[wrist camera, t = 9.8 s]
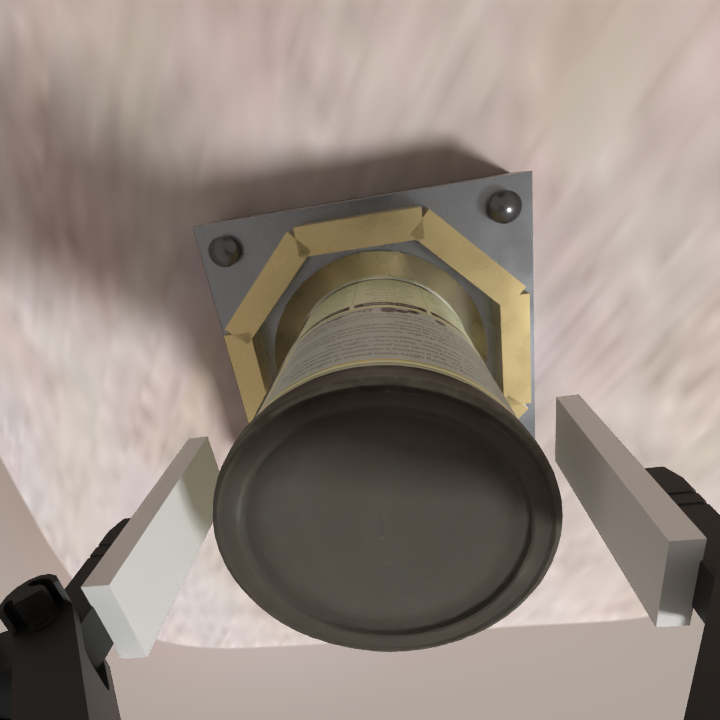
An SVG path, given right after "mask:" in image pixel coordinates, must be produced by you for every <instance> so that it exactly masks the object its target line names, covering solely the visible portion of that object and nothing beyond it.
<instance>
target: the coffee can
mask: <svg viewBox="0 0 720 720" xmlns="http://www.w3.org/2000/svg"><path fill="white" fill-rule="evenodd" d="M562 516H563V515H562V500H561V495H560V491H559V487H558V484H557V481H556V478H555V475H554V472H553V470H552V468H551V466H550V464H549V462H548V460H547V458H546V456H545V454H544V453H543V451H542V449H541V448H540V446H539V445H538V443H537V442H536V440H535V439H534V438H533V436H532V435H531V434H530V433H529V431H528V430H527V429H526V428H525V426H524V425H523V424H522V423H521V422H520V421H519V420H518V418H517V417H516V415H515V413H514V412H513V410H512V408H511V407H510V405H509V403H508V402H507V400H506V398H505V397H504V395H503V393H502V391H501V390H500V388H499V387H498V385H497V383H496V382H495V380H494V378H493V377H492V375H491V373H490V372H489V370H488V368H487V367H486V365H485V363H484V362H483V360H482V358H481V357H480V355H479V353H478V352H477V350H476V349H475V347H474V345H473V343H472V342H471V340H470V338H469V337H468V335H467V333H466V332H465V330H464V328H463V325H462V323H461V321H460V319H459V317H458V315H457V314H456V312H455V311H454V310H453V308H452V307H451V306H450V305H449V304H448V303H447V301H446V300H444V299H443V298H442V297H441V296H440V295H439V294H438V293H436V292H435V291H433V290H432V289H430V288H429V287H427V286H425V285H423V284H421V283H419V282H417V281H414V280H412V279H408V278H405V277H398V276H392V275H372V276H367V277H362V278H358V279H355V280H352V281H349V282H347V283H344V284H342V285H339V286H337V287H336V288H335V289H333V290H332V291H331V292H329V293H328V294H326V295H325V296H324V297H323V298H322V299H320V300H319V301H318V302H317V303H316V304H315V306H314V307H313V308H312V309H311V311H310V312H309V314H308V315H307V317H306V319H305V321H304V323H303V325H302V327H301V329H300V332H299V334H298V336H297V338H296V340H295V342H294V344H293V346H292V347H291V349H290V351H289V353H288V355H287V357H286V358H285V360H284V362H283V364H282V366H281V367H280V369H279V371H278V373H277V375H276V376H275V378H274V380H273V382H272V384H271V385H270V388H269V390H268V392H267V393H266V395H265V396H264V398H263V401H262V403H261V404H260V406H259V408H258V410H257V412H256V414H255V416H254V418H253V420H252V421H251V422H250V423H249V424H248V425H247V427H246V428H245V429H244V430H243V431H242V433H241V434H240V435H239V437H238V438H237V440H236V441H235V443H234V444H233V446H232V448H231V449H230V451H229V453H228V455H227V457H226V459H225V461H224V463H223V465H222V467H221V470H220V473H219V476H218V478H217V483H216V487H215V491H214V498H213V526H214V533H215V538H216V541H217V545H218V549H219V551H220V553H221V556H222V558H223V560H224V563H225V565H226V567H227V569H228V570H229V572H230V573H231V575H232V576H233V578H234V579H235V581H236V582H237V583H238V584H239V586H240V587H241V588H242V589H243V590H244V591H245V593H246V594H247V595H248V596H249V597H250V598H251V599H252V600H253V601H254V602H255V603H256V604H257V605H259V606H260V607H261V608H262V609H263V610H265V611H266V612H267V613H268V614H270V615H271V616H272V617H274V618H275V619H277V620H278V621H280V622H281V623H283V624H285V625H287V626H288V627H290V628H292V629H294V630H296V631H298V632H300V633H302V634H305V635H308V636H310V637H312V638H316V639H319V640H322V641H325V642H328V643H331V644H335V645H340V646H345V647H349V648H355V649H362V650H370V651H382V652H383V651H384V652H396V651H411V650H419V649H426V648H432V647H437V646H440V645H445V644H448V643H452V642H455V641H458V640H462V639H464V638H466V637H468V636H471V635H474V634H476V633H478V632H481V631H483V630H485V629H487V628H489V627H490V626H492V625H493V624H495V623H497V622H498V621H500V620H501V619H503V618H505V617H506V616H508V615H509V614H510V613H511V612H512V611H514V610H515V609H516V608H517V607H518V606H520V605H521V604H522V603H523V602H524V601H525V600H526V599H527V597H528V596H529V595H530V594H531V593H532V592H533V591H534V590H535V589H536V587H537V586H538V585H539V584H540V583H541V581H542V579H543V578H544V576H545V574H546V573H547V571H548V569H549V567H550V565H551V563H552V561H553V558H554V555H555V553H556V551H557V547H558V544H559V540H560V536H561V530H562Z"/></svg>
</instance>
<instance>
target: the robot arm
mask: <svg viewBox="0 0 720 720" xmlns="http://www.w3.org/2000/svg"><path fill="white" fill-rule="evenodd" d="M555 461H556V463H557V464H558V466H559V468H560V469H561V471H562V472H563V474H564V476H565V477H566V479H567V481H568V482H569V484H570V486H571V487H572V489H573V491H574V492H575V494H576V496H577V497H578V499H579V501H580V502H581V504H582V506H583V507H584V509H585V511H586V512H587V514H588V515H589V517H590V519H591V520H592V522H593V524H594V525H595V527H596V529H597V530H598V532H599V534H600V535H601V537H602V539H603V540H604V542H605V544H606V545H607V547H608V549H609V550H610V552H611V554H612V555H613V557H614V559H615V560H616V562H617V563H618V565H619V567H620V568H621V570H622V572H623V573H624V575H625V577H626V578H627V580H628V582H629V583H630V585H631V587H632V588H633V590H634V592H635V593H636V595H637V597H638V598H639V600H640V602H641V603H642V605H643V606H644V608H645V610H646V611H647V613H648V615H649V616H650V618H651V620H652V621H653V623H654V625H655V626H656V627H666V626H683V625H690V621H691V616H692V611H693V608H694V609H695V611H696V612H697V614H698V615H699V616H700V618H701V619H702V620H703V622H704V623H705V626H704V631H703V635H702V640H701V644H700V649H699V653H698V658H697V662H696V667H695V672H694V676H693V680H692V685H691V689H690V694H689V699H688V703H687V707H686V712H685V716H684V720H720V515H719V514H718V513H717V512H716V511H715V510H714V509H713V508H712V507H711V506H710V505H709V504H707V503H706V501H705V500H704V499H703V498H702V497H701V496H700V495H699V494H698V493H696V491H695V490H694V489H693V488H692V487H691V486H690V485H689V483H688V482H687V481H686V480H685V479H684V478H683V477H681V476H679V475H677V474H676V473H674V472H672V471H670V470H669V469H667V468H665V467H654V468H644V467H643V466H642V465H641V464H640V463H639V462H638V461H637V459H636V458H635V457H634V456H633V455H632V454H631V453H630V452H629V450H628V449H627V448H626V447H625V446H624V445H623V444H622V443H621V441H620V440H619V439H618V438H617V437H616V436H615V435H614V434H613V432H612V431H611V430H610V429H609V428H608V427H607V426H606V425H605V424H604V422H603V421H602V420H601V419H600V418H599V417H598V416H597V415H596V413H595V412H594V411H593V410H592V409H591V408H590V407H589V406H588V404H587V403H586V402H585V401H584V400H583V399H582V398H581V397H580V395H571V396H562V397H556V450H555ZM219 473H220V472H219V469H218V466H217V463H216V460H215V457H214V454H213V451H212V448H211V446H210V443H209V440H208V437H200V438H191V439H188V441H187V442H186V443H185V445H184V446H183V447H182V449H181V450H180V452H179V453H178V454H177V456H176V457H175V458H174V460H173V461H172V463H171V464H170V465H169V467H168V468H167V469H166V471H165V472H164V474H163V475H162V476H161V478H160V479H159V480H158V482H157V483H156V485H155V486H154V487H153V489H152V490H151V491H150V493H149V494H148V496H147V497H146V498H145V500H144V501H143V502H142V504H141V505H140V507H139V508H138V509H137V511H136V512H135V513H134V515H133V516H132V518H127V519H123V520H122V521H121V522H119V523H118V524H117V525H116V526H115V527H113V528H112V529H111V530H110V531H109V532H108V533H107V534H106V536H105V537H104V538H103V540H102V541H101V542H100V544H99V547H97V548H96V549H95V550H94V552H93V553H92V554H91V555H90V556H91V557H90V558H88V559H87V561H86V562H85V563H84V565H83V566H82V567H81V569H80V570H79V571H78V572H77V574H76V575H75V576H74V578H73V579H72V580H71V582H70V583H69V585H68V586H67V587H66V588H65V590H64V588H63V587H62V585H61V583H60V581H59V580H58V578H57V576H55V575H52V574H46V575H40V576H38V577H35V578H33V579H30V580H28V581H26V582H25V583H23V584H22V585H20V586H19V587H17V588H16V589H15V590H13V591H12V592H11V593H10V594H9V595H8V596H7V597H6V598H5V599H4V600H3V602H2V603H1V604H0V619H1V620H2V622H3V623H4V625H5V626H6V628H7V629H8V631H5V632H3V633H0V720H121V719H120V714H119V709H118V705H117V699H116V695H115V690H114V685H113V680H112V676H111V671H110V667H109V665H108V663H107V661H106V660H105V658H106V656H107V654H108V652H109V650H110V649H111V647H112V645H114V647H115V649H116V650H117V652H118V654H119V656H120V657H121V658H122V659H124V658H140V657H148V655H149V652H150V650H151V648H152V646H153V644H154V642H155V640H156V638H157V636H158V634H159V632H160V630H161V628H162V626H163V624H164V622H165V619H166V617H167V615H168V613H169V611H170V609H171V607H172V605H173V603H174V601H175V599H176V597H177V595H178V593H179V591H180V589H181V586H182V584H183V582H184V580H185V578H186V576H187V574H188V572H189V570H190V568H191V566H192V564H193V562H194V560H195V558H196V556H197V553H198V551H199V549H200V547H201V545H202V543H203V541H204V539H205V537H206V535H207V533H208V531H209V529H210V527H211V525H212V523H213V498H214V491H215V487H216V483H217V478H218V476H219Z"/></svg>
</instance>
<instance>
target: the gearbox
mask: <svg viewBox="0 0 720 720" xmlns="http://www.w3.org/2000/svg"><path fill="white" fill-rule="evenodd" d="M193 229H194V233H195V236H196V240H197V243H198V247H199V250H200V254H201V257H202V261H203V264H204V268H205V271H206V275H207V278H208V282H209V285H210V289H211V292H212V295H213V299H214V302H215V306H216V309H217V313H218V316H219V320H220V323H221V327H222V330H223V334H224V339H225V342H226V346H227V349H228V353H229V356H230V360H231V363H232V367H233V370H234V374H235V377H236V381H237V384H238V388H239V391H240V394H241V398H242V401H243V405H244V408H245V412H246V415H247V419H248V422H249V423H250V422H251V421H252V420H253V418H254V416H255V414H256V412H257V410H258V408H259V406H260V404H261V403H262V401H263V398H264V396H265V395H266V393H267V392H268V390H269V388H270V385H271V384H272V382H273V380H274V378H275V376H276V375H277V373H278V371H279V369H280V367H281V366H282V364H283V362H284V360H285V358H286V357H287V355H288V353H289V351H290V349H291V347H292V346H293V344H294V342H295V340H296V338H297V336H298V334H299V332H300V329H301V327H302V325H303V323H304V321H305V319H306V317H307V315H308V314H309V312H310V311H311V309H312V308H313V307H314V306H315V304H316V303H317V302H318V301H319V300H320V299H322V298H323V297H324V296H325V295H326V294H328V293H329V292H331V291H332V290H333V289H335V288H336V287H337V286H339V285H342V284H344V283H347V282H349V281H352V280H355V279H358V278H362V277H367V276H372V275H392V276H398V277H405V278H408V279H412V280H414V281H417V282H419V283H421V284H423V285H425V286H427V287H429V288H430V289H432V290H433V291H435V292H436V293H438V294H439V295H440V296H441V297H442V298H443V299H444V300H446V301H447V303H448V304H449V305H450V306H451V307H452V308H453V310H454V311H455V312H456V314H457V315H458V317H459V319H460V321H461V323H462V325H463V328H464V330H465V332H466V333H467V335H468V337H469V338H470V340H471V342H472V343H473V345H474V347H475V349H476V350H477V352H478V353H479V355H480V357H481V358H482V360H483V362H484V363H485V365H486V367H487V368H488V370H489V372H490V373H491V375H492V377H493V378H494V380H495V382H496V383H497V385H498V387H499V388H500V390H501V391H502V393H503V395H504V397H505V398H506V400H507V402H508V403H509V405H510V407H511V408H512V410H513V412H514V413H515V415H516V417H517V418H518V420H519V421H520V422H521V423H522V424H523V425H524V426H525V428H526V429H527V430H528V431H529V433H530V434H531V435H532V436H533V438H534V439H535V400H534V306H533V211H532V171H523V172H512V173H505V174H499V175H493V176H487V177H481V178H475V179H469V180H463V181H457V182H451V183H445V184H439V185H433V186H427V187H421V188H415V189H409V190H403V191H397V192H391V193H385V194H379V195H373V196H367V197H361V198H355V199H349V200H343V201H337V202H331V203H325V204H319V205H313V206H307V207H301V208H295V209H290V210H284V211H278V212H272V213H266V214H260V215H254V216H248V217H242V218H236V219H230V220H224V221H218V222H213V223H209V224H205V225H200V226H196V227H193Z"/></svg>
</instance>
